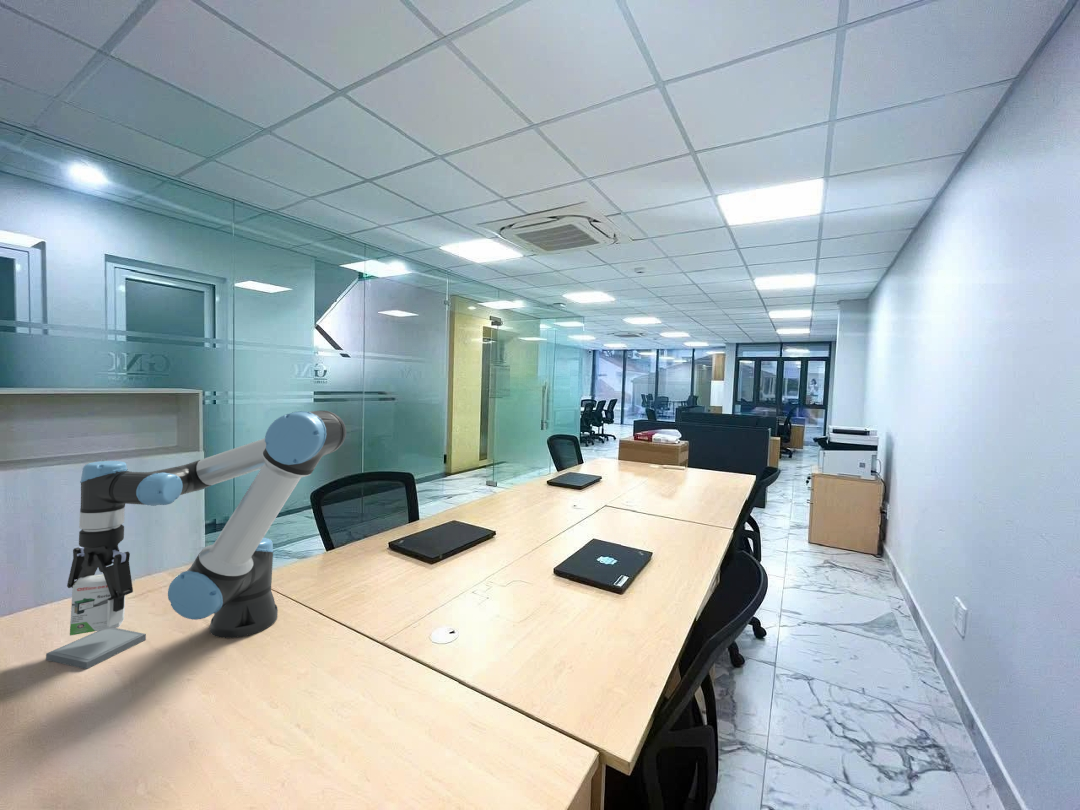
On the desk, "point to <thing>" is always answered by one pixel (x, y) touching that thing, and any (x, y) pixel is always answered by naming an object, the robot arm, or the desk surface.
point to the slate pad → (95, 647)
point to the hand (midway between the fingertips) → (98, 620)
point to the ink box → (90, 605)
